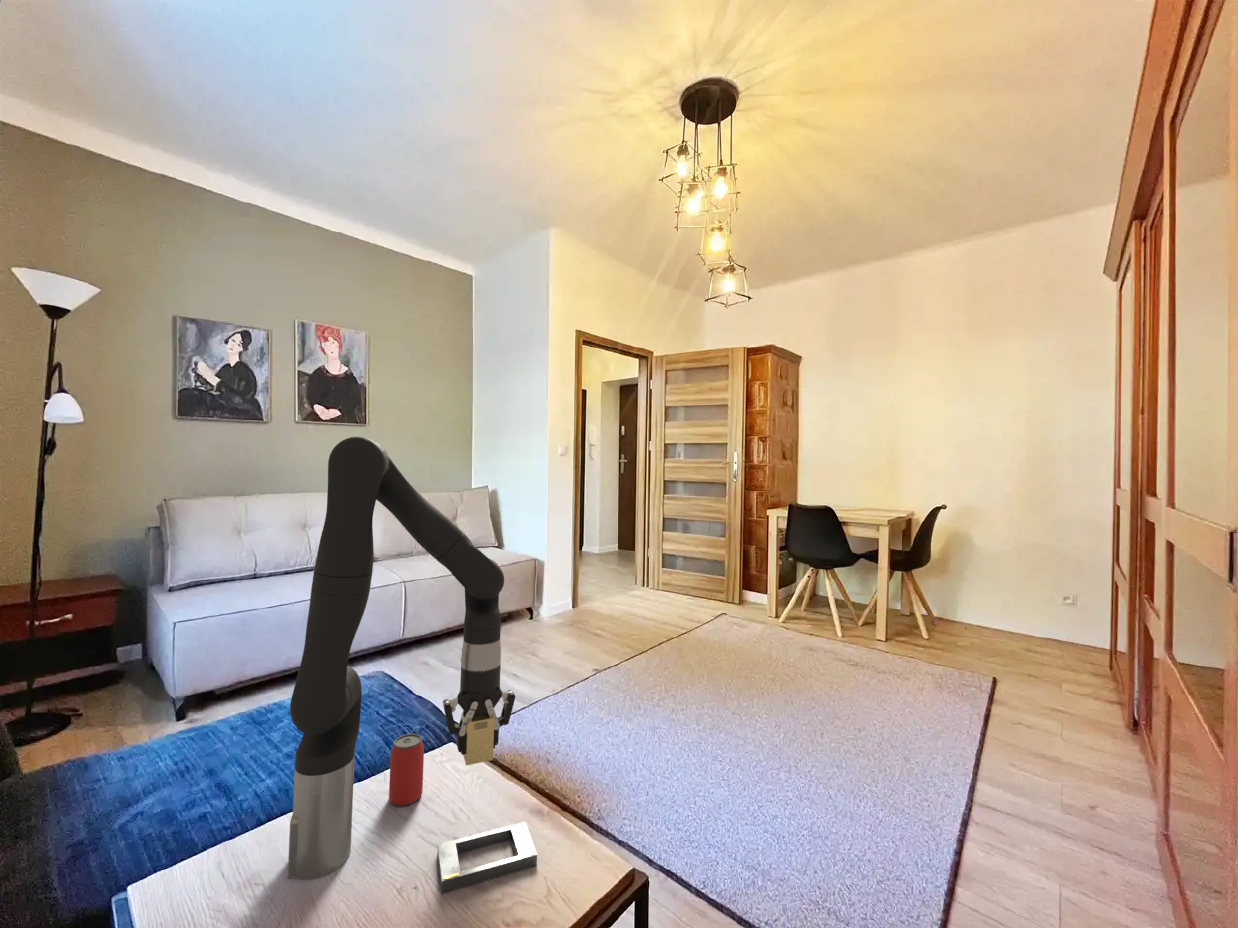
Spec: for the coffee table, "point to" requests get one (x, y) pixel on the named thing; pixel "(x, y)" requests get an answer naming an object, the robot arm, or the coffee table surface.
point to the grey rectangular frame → (456, 879)
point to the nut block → (479, 739)
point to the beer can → (406, 770)
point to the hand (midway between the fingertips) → (477, 749)
